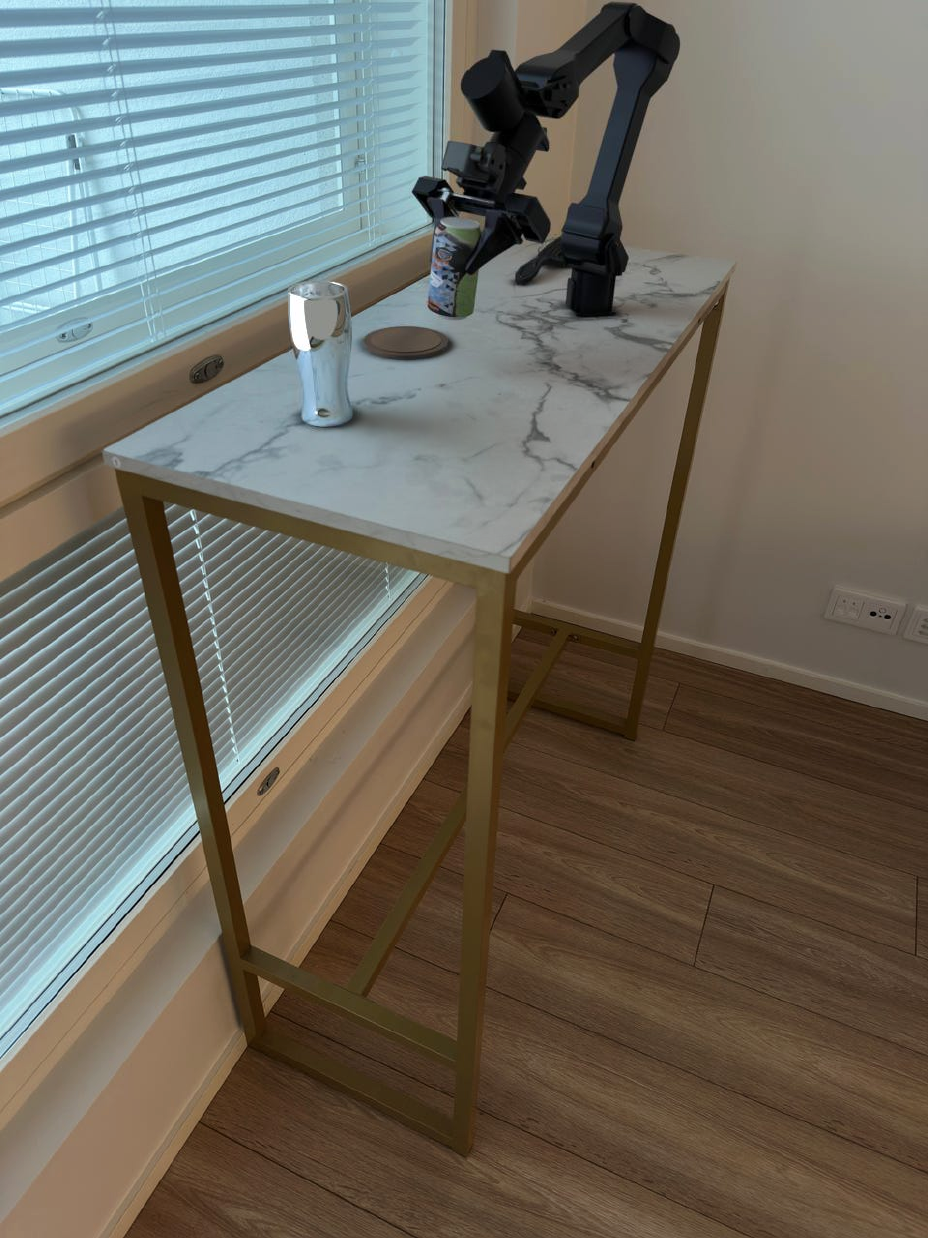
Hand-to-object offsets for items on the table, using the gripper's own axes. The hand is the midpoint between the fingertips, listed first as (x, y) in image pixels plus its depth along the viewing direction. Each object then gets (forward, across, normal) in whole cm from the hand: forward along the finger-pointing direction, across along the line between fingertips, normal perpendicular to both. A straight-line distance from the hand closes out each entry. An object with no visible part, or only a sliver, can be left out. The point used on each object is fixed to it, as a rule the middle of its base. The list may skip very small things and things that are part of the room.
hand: (449, 267), depth 113 cm
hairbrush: (-25, -18, +45) cm, 55 cm away
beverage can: (+4, 0, +6) cm, 7 cm away
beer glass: (+24, -1, -6) cm, 25 cm away
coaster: (+7, -11, +12) cm, 17 cm away
